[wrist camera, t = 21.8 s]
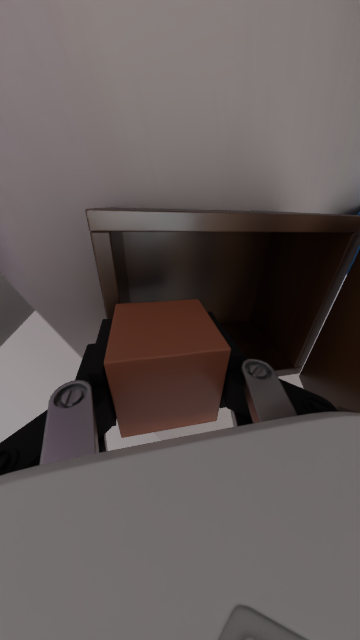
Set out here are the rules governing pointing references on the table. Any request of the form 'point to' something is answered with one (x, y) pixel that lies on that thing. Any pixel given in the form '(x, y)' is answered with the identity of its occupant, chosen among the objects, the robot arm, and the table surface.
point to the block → (164, 366)
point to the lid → (338, 349)
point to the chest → (230, 270)
